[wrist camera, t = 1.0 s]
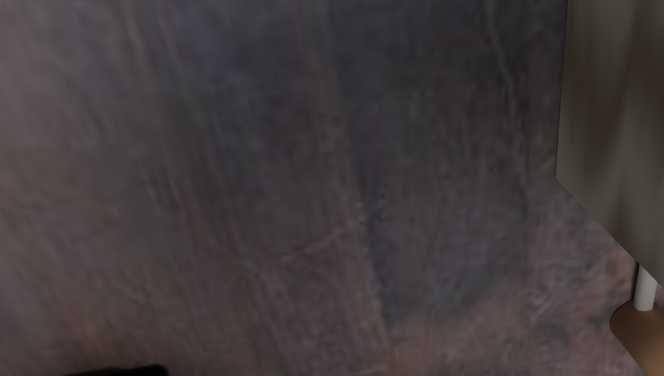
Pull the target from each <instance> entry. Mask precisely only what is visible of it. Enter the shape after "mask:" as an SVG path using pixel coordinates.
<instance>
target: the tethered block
mask: <svg viewBox="0 0 664 376" xmlns="http://www.w3.org/2000/svg"><path fill="white" fill-rule="evenodd" d="M656 287H657V281H656V280H655V279H654V278H653V277H652V276H651V275H650V274H649V273H648V272H647V271H646V270H645V269H644V268H643V267H642V266H641V265H639V271H638V278H637V284H636V290H635V296H634V300H631V301H629V302H627V303H625V304H624V305H622V306H621V307H620V308H619V309H618V310H617V311H616V312H615V313H614V314H613V316H612V318H611V321H610V328H611V331H612V332H613V333H614V335H615V336H616V337H617V338H618V340H619V341H620V342H621V343H622V345H623V346H624V347H625V349H626V350H627V351H628V352H629V354H630V355H631V356H632V357H633V359H634V360H635V361H636V362H637V364H638V365H639V366H640V367H641V369H642V370H643V371H644V373H645V374H646V375H647V376H664V311H663V310H662V309H661V308H660V307H659V306H658V305H657V304H656V303H655V302H654V298H655V292H656Z"/></svg>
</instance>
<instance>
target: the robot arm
mask: <svg viewBox="0 0 664 376" xmlns="http://www.w3.org/2000/svg"><path fill="white" fill-rule="evenodd" d="M109 376H168V375H167V373H166V371H165V370H163V369H162V368H158V367H152V368H147V369H141V370H136V371H131V372H125V373H120V374H115V375H109Z"/></svg>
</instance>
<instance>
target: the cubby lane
mask: <svg viewBox="0 0 664 376" xmlns="http://www.w3.org/2000/svg"><path fill="white" fill-rule="evenodd" d="M555 179H556V180H557V181H558V182H559V183H560V184H561V185H562V186H563V187H564V188H565V189H566V190H567V191H568V192H569V194H570V195H571V196H572V197H573V198H574V199H575V200H576V201H577V202H578V203H579V204H580V205H581V206H582V207H583V208H584V209H585V210H586V211H587V212H588V213H589V214H590V215H591V216H592V217H593V218H594V219H595V220H596V221H597V222H598V223H599V224H600V225H601V226H602V227H603V228H604V229H605V230H606V231H607V232H608V233H609V234H610V235H611V236H612V237H613V238H614V239H615V240H616V241H617V242H618V243H619V244H620V245H621V246H622V247H623V248H624V249H625V250H626V251H627V252H628V253H629V254H630V255H631V256H632V257H633V258H634V259H635V260H636V261H637V262H638V263H639V264H640V265H641V266H642V267H643V268H644V269H645V270H646V271H647V272H648V273H649V274H650V275H651V276H652V277H653V278H654V279H655V280H656V281H657V282H658V283H659V284H660V285H661V286H662V287H663V288H664V0H568V5H567V19H566V33H565V48H564V62H563V76H562V91H561V105H560V120H559V134H558V148H557V163H556V177H555Z"/></svg>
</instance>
